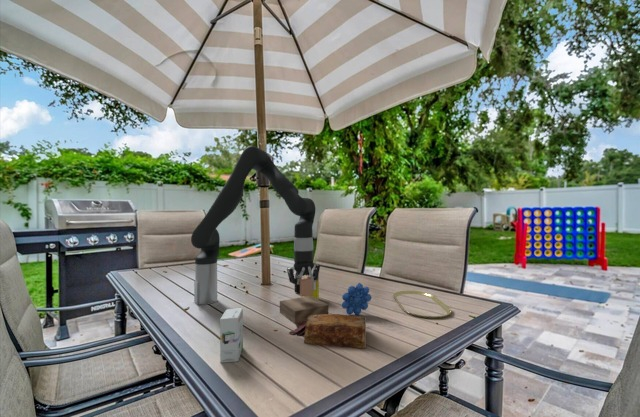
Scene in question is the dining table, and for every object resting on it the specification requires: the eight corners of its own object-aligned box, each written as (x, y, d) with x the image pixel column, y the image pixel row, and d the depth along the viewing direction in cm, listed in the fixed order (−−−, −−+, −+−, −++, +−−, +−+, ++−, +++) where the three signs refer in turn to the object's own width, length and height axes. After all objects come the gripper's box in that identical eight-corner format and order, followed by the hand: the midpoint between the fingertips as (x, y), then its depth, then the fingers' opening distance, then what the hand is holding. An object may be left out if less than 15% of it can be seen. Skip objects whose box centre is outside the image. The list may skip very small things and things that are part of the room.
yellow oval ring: (408, 320, 109) (408, 316, 109) (389, 293, 144) (389, 290, 144) (459, 320, 109) (459, 316, 109) (428, 294, 144) (428, 290, 144)
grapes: (368, 310, 119) (368, 280, 119) (373, 316, 112) (372, 284, 113) (340, 311, 118) (339, 281, 118) (342, 317, 111) (342, 285, 111)
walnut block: (295, 325, 105) (294, 311, 105) (279, 313, 117) (279, 301, 117) (328, 318, 112) (328, 304, 112) (310, 307, 124) (310, 295, 124)
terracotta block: (301, 296, 112) (301, 280, 112) (295, 293, 116) (295, 278, 116) (313, 294, 115) (312, 279, 115) (306, 291, 119) (306, 276, 119)
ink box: (226, 348, 87) (226, 308, 87) (243, 347, 88) (243, 307, 88) (219, 363, 79) (219, 318, 79) (238, 362, 79) (238, 317, 79)
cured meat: (296, 322, 108) (295, 303, 107) (365, 326, 104) (365, 306, 104) (282, 345, 90) (282, 323, 90) (365, 351, 86) (365, 327, 86)
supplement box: (319, 298, 136) (318, 274, 136) (317, 302, 130) (317, 277, 130) (306, 298, 137) (306, 274, 137) (304, 302, 131) (304, 277, 131)
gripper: (314, 246, 123) (314, 288, 122) (282, 249, 115) (283, 293, 115) (324, 248, 116) (324, 292, 116) (291, 251, 109) (292, 298, 108)
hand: (304, 292), depth 115 cm, fingers closed on terracotta block, 5 cm apart
